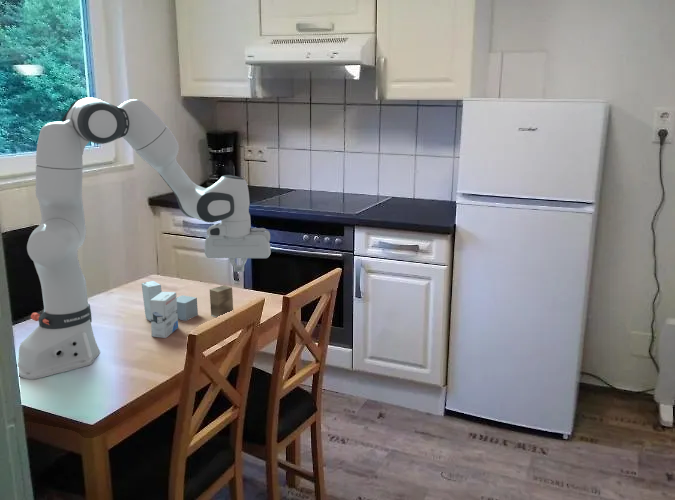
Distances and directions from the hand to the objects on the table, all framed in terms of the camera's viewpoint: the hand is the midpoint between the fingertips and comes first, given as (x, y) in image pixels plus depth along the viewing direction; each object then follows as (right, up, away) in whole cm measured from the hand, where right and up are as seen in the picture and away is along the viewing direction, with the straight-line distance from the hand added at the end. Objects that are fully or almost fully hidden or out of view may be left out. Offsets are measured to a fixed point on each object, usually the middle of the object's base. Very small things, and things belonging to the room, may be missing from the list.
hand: (239, 271), depth 197 cm
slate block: (-19, -15, +8) cm, 26 cm away
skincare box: (-28, -16, +6) cm, 33 cm away
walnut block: (-7, -15, +10) cm, 19 cm away
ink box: (-22, -19, -5) cm, 29 cm away
